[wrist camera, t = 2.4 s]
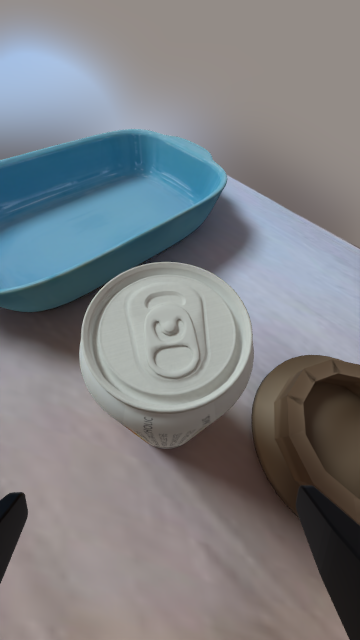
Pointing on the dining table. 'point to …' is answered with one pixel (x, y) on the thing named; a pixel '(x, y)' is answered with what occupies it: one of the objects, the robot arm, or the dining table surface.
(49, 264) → the casserole dish
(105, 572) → the dining table surface
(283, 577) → the dining table surface
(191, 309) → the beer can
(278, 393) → the can holder
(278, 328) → the dining table surface
